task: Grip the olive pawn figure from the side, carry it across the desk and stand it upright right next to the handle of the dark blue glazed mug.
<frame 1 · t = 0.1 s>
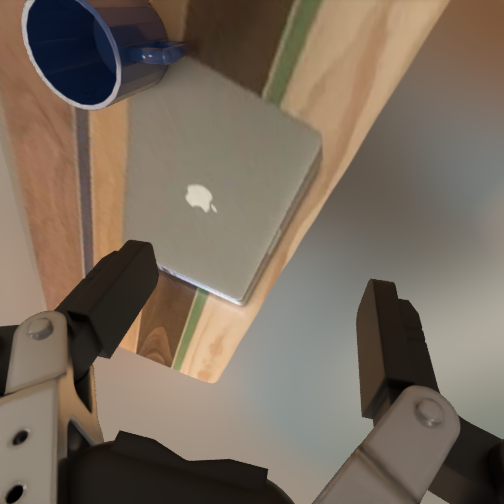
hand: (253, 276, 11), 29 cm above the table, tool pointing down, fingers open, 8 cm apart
mug: (131, 43, 34), on the table
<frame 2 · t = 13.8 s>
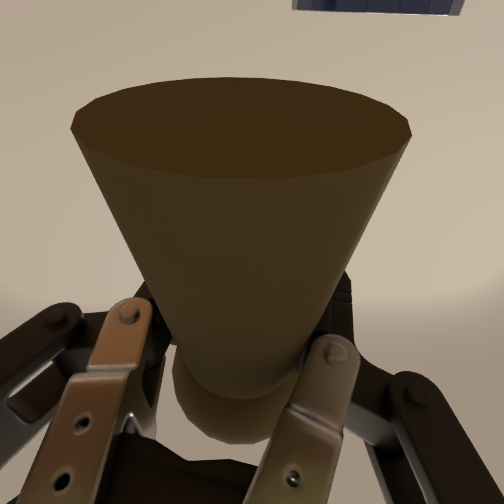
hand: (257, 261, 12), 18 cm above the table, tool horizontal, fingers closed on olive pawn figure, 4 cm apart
olive pawn figure: (244, 96, 6), point 11 cm above the table, touching gripper
when the fingers open (6 cm above the table, at t = 17.7 s): olive pawn figure stays where it is, on the table.
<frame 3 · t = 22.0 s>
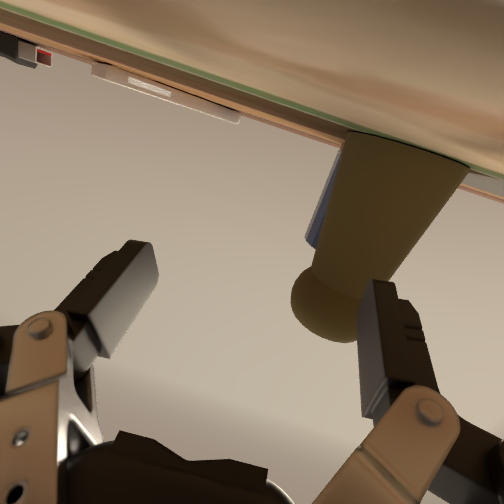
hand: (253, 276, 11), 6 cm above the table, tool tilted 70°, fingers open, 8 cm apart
mug: (387, 158, 29), on the table
phone case: (173, 87, 34), on the table
olive pawn figure: (406, 146, 15), on the table
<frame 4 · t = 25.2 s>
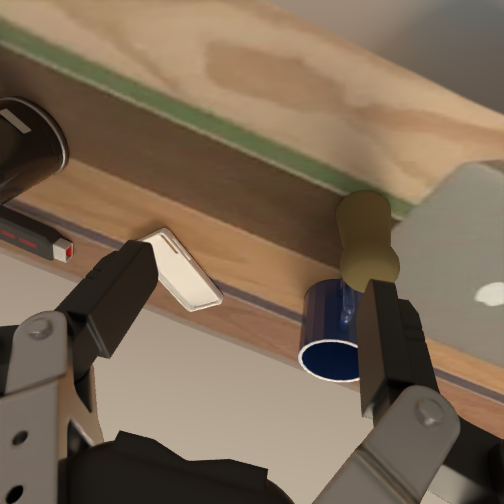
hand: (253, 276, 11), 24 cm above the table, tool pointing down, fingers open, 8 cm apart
mug: (335, 301, 45), on the table
phone case: (181, 269, 48), on the table
usb drive: (39, 232, 50), on the table
olive pawn figure: (362, 213, 35), on the table
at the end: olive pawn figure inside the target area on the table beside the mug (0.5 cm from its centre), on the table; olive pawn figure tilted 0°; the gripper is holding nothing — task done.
